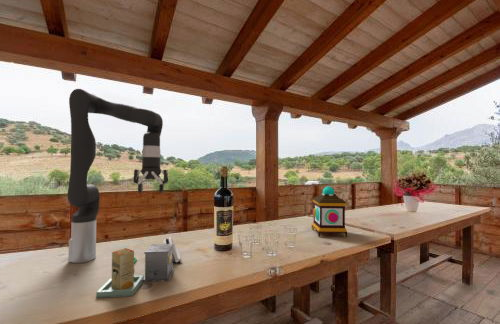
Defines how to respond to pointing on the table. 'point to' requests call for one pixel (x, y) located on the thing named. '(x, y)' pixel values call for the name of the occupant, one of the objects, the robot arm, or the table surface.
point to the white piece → (173, 250)
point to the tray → (110, 292)
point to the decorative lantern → (329, 213)
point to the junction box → (158, 262)
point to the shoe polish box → (122, 269)
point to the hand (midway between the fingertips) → (150, 192)
